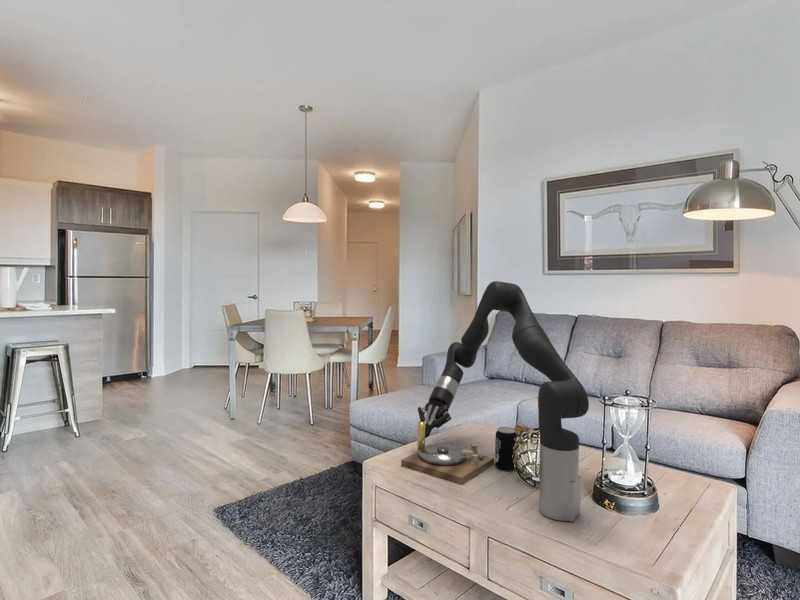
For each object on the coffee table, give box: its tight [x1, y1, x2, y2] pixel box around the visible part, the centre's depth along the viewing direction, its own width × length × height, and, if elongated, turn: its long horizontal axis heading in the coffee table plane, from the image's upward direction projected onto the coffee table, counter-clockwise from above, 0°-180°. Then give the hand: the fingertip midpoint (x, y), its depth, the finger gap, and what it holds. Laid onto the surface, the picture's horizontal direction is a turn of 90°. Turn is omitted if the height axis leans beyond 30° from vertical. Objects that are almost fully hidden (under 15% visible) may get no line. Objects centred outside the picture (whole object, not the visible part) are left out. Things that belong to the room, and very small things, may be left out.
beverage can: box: [494, 426, 518, 472], centre depth 148 cm, size 7×7×12 cm
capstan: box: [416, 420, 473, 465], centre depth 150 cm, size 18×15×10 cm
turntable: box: [400, 442, 495, 486], centre depth 149 cm, size 22×20×5 cm
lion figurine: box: [514, 423, 531, 439], centre depth 162 cm, size 15×5×9 cm, turn 71°
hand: (423, 436), depth 153 cm, fingers closed
